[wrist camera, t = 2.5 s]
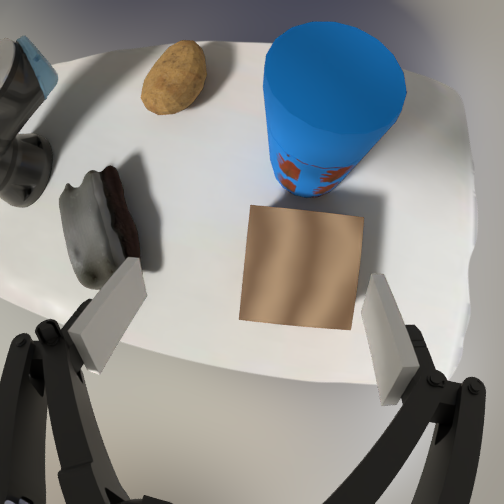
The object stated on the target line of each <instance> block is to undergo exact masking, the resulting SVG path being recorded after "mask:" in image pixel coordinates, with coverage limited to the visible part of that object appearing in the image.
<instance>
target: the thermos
mask: <svg viewBox="0 0 504 504" xmlns="http://www.w3.org/2000/svg"><path fill="white" fill-rule="evenodd" d="M263 91H264V101H265V110H266V120H267V131H268V141H269V152H270V160H271V164H272V167H273V170H274V174H275V177H276V179H277V180H278V181H279V183H280V184H281V185H282V187H283V188H284V189H286V190H287V191H289V192H290V193H292V194H293V195H297V196H301V197H304V198H311V197H319V196H321V195H323V194H326V193H328V192H330V191H331V190H332V189H334V188H335V187H336V186H337V185H338V184H339V183H340V182H341V181H342V180H343V179H344V178H345V177H346V176H347V174H348V173H349V172H350V171H351V170H352V169H353V168H354V167H355V166H356V165H357V164H358V163H359V161H360V160H361V159H362V158H363V157H364V156H365V155H366V154H367V153H368V152H369V151H370V149H371V148H372V147H373V146H374V145H375V144H376V143H377V142H378V141H379V140H380V139H381V137H382V136H383V135H384V134H385V133H386V132H387V131H388V130H389V129H390V128H391V126H392V125H393V124H394V123H395V122H396V120H397V118H398V117H399V115H400V113H401V111H402V107H403V104H404V100H405V97H406V93H407V91H406V85H405V78H404V73H403V71H402V69H401V67H400V66H399V64H398V62H397V60H396V59H395V57H394V55H393V54H392V53H391V52H390V51H389V50H388V49H387V48H386V47H385V46H384V45H383V44H382V43H381V42H380V41H379V40H377V39H376V38H374V37H373V36H371V35H369V34H367V33H366V32H364V31H362V30H360V29H358V28H356V27H352V26H349V25H344V24H341V23H337V22H309V23H306V24H302V25H298V26H295V27H292V28H290V29H289V30H287V31H286V32H285V33H283V34H282V35H280V36H279V37H278V38H276V39H275V41H274V43H273V44H272V46H271V48H270V49H269V51H268V53H267V54H266V60H265V67H264V80H263Z"/></svg>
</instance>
